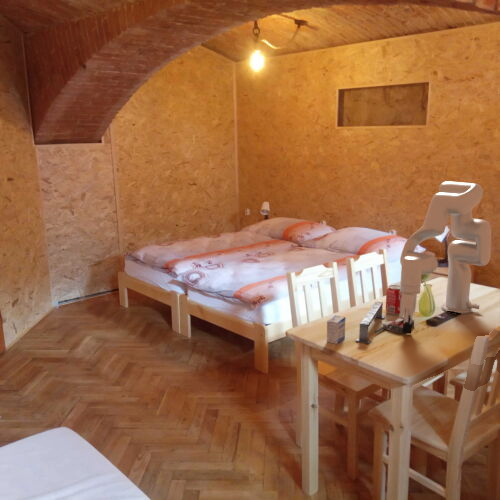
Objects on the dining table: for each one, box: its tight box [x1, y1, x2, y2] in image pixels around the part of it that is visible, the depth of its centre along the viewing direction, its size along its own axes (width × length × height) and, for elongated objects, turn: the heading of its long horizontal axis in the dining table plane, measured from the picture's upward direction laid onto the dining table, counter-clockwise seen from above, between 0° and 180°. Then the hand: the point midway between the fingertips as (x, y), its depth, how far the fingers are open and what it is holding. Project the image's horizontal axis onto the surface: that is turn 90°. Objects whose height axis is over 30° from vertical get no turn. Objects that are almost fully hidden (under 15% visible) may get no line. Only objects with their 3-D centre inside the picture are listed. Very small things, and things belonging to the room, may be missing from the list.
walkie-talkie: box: [374, 316, 415, 335], centre depth 210 cm, size 9×4×20 cm
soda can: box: [385, 284, 402, 316], centre depth 228 cm, size 7×7×12 cm
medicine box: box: [326, 314, 346, 345], centre depth 199 cm, size 8×4×9 cm, turn 148°
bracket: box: [355, 301, 386, 345], centre depth 210 cm, size 5×32×7 cm, turn 155°
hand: (407, 332), depth 205 cm, fingers closed
